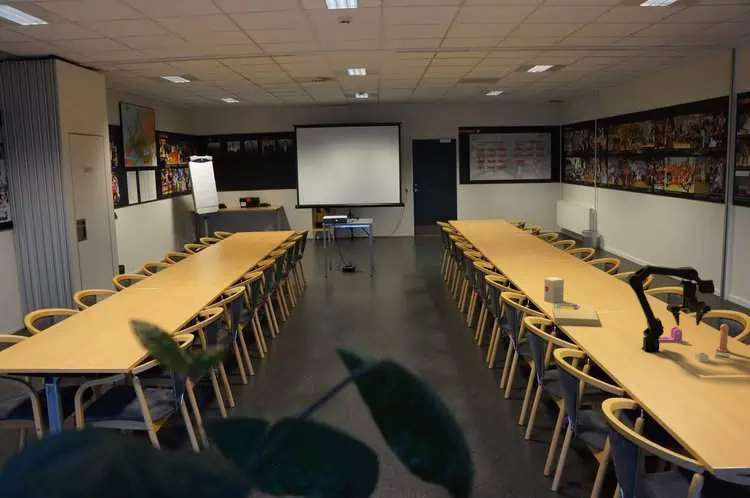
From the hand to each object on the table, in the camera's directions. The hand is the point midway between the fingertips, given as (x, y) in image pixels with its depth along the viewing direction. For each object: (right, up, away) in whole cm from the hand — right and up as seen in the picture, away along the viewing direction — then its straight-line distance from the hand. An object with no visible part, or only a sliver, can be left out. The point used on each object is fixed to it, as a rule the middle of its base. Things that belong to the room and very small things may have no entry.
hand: (687, 325), depth 308 cm
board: (+13, -14, -7) cm, 20 cm away
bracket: (-1, -11, +21) cm, 23 cm away
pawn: (+16, -12, -2) cm, 20 cm away
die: (-1, -15, -14) cm, 21 cm away
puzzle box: (-33, -4, +70) cm, 78 cm away
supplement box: (-33, +2, +112) cm, 117 cm away
